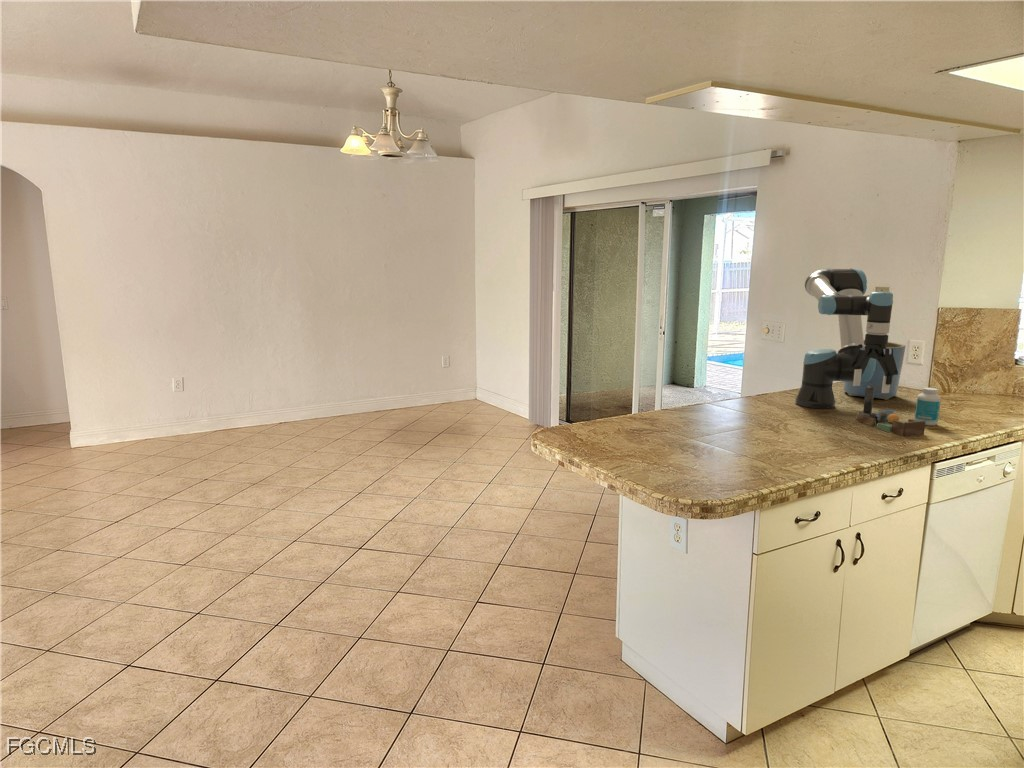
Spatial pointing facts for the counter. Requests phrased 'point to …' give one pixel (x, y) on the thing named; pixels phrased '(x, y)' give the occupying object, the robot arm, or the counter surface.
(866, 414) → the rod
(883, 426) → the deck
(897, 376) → the planter
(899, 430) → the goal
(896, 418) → the ball
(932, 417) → the pill bottle
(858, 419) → the guide
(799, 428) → the counter surface
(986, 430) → the counter surface
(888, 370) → the robot arm
